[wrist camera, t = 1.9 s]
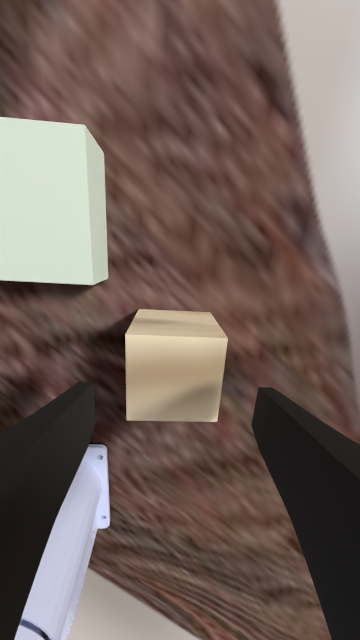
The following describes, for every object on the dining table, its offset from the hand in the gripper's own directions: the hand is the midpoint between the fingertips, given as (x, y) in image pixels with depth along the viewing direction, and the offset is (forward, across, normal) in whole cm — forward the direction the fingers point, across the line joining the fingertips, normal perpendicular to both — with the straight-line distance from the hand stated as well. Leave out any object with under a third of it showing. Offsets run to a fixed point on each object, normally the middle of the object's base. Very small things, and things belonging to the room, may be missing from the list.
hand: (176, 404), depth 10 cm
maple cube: (+7, 0, 0) cm, 7 cm away
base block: (+7, +8, -8) cm, 13 cm away
